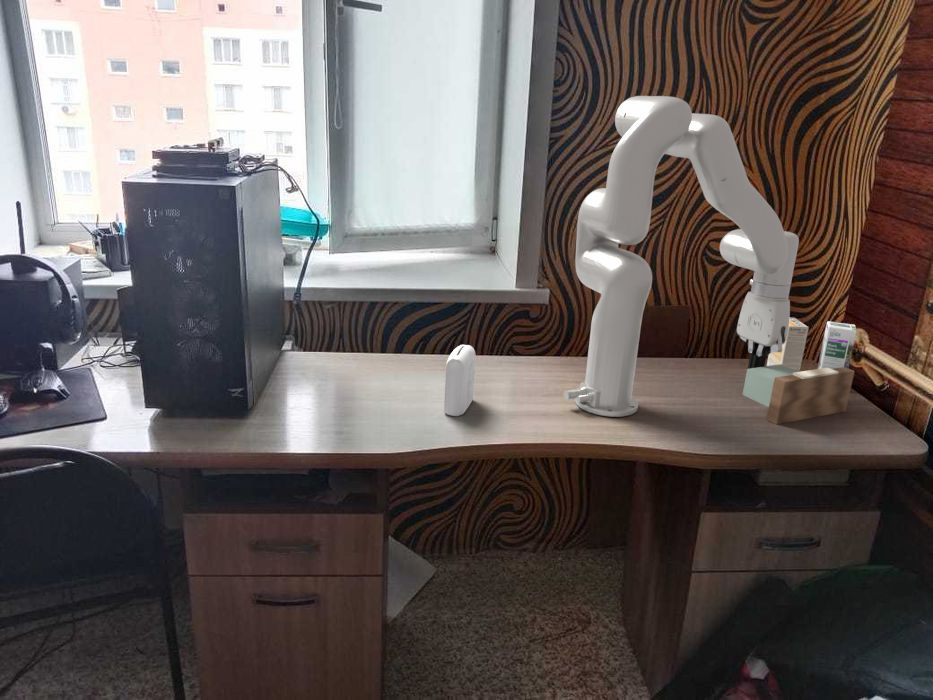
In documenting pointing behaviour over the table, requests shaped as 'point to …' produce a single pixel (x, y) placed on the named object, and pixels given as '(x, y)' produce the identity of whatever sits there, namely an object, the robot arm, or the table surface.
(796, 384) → the board
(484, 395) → the table surface
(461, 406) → the photo printer
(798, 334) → the supplement box
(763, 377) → the sage block
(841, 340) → the syrup box
